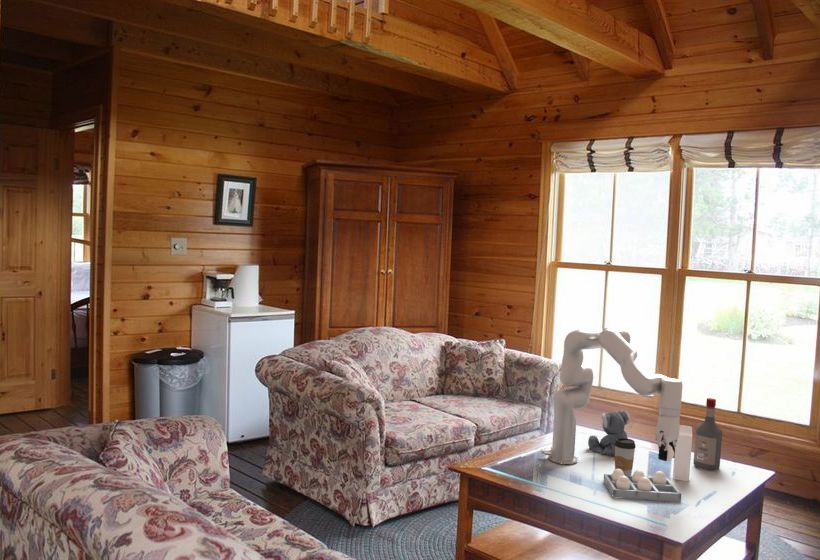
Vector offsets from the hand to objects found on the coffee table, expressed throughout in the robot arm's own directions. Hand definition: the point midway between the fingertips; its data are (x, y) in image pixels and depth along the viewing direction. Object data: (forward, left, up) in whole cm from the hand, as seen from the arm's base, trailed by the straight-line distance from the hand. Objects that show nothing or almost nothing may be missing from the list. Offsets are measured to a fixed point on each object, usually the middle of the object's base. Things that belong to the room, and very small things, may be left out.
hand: (666, 458), depth 263 cm
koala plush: (-7, +52, -16) cm, 55 cm away
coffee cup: (-10, +21, -15) cm, 28 cm away
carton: (-7, +5, -15) cm, 18 cm away
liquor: (+30, +39, -15) cm, 51 cm away
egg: (0, 0, -1) cm, 1 cm away
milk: (+14, +23, -15) cm, 31 cm away
